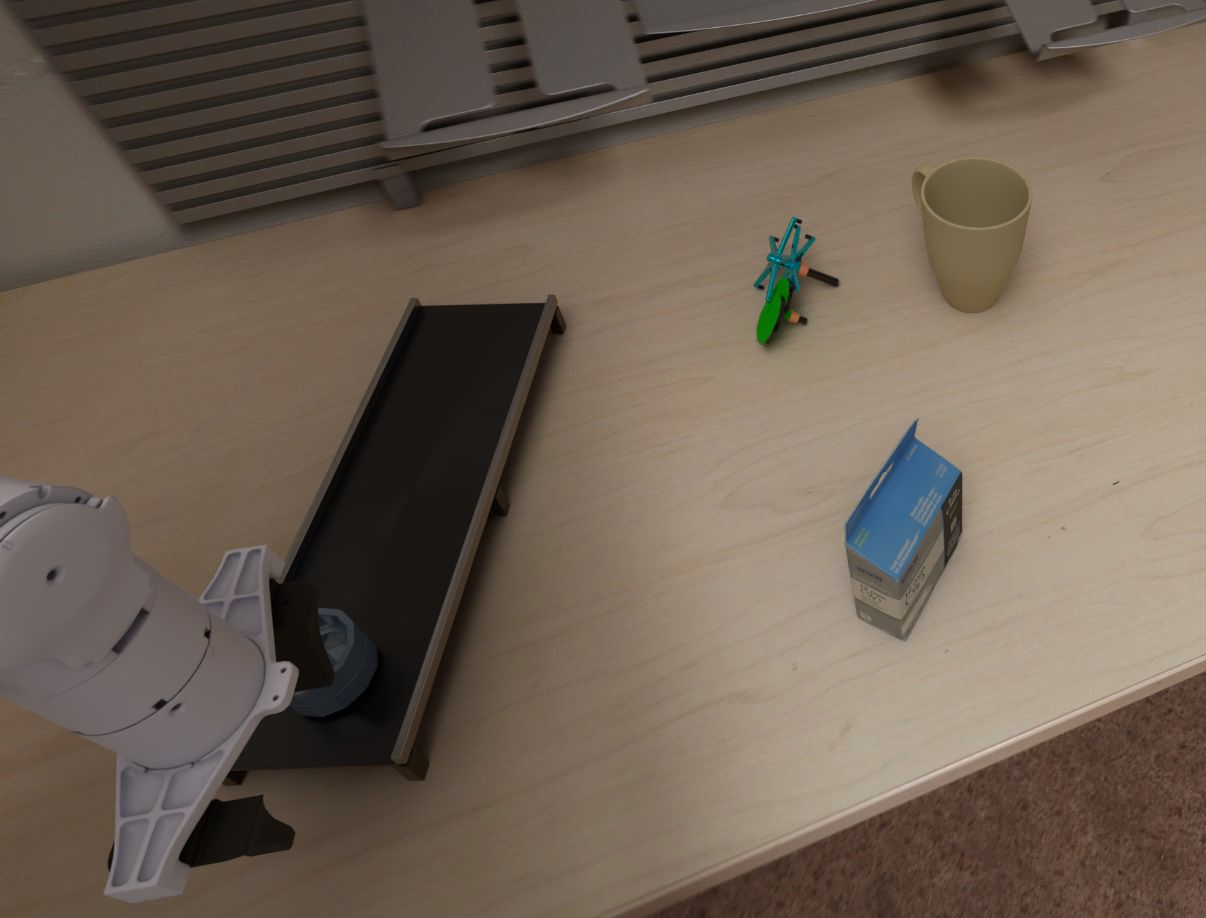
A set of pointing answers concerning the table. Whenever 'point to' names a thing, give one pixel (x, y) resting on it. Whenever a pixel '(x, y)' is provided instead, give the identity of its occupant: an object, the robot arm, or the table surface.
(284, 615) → the robot arm
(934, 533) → the label tape box
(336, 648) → the cup
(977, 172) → the mug
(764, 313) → the stick construction toy
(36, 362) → the table surface
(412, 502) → the conveyor belt
